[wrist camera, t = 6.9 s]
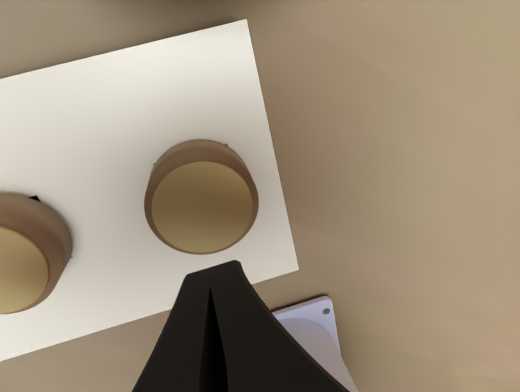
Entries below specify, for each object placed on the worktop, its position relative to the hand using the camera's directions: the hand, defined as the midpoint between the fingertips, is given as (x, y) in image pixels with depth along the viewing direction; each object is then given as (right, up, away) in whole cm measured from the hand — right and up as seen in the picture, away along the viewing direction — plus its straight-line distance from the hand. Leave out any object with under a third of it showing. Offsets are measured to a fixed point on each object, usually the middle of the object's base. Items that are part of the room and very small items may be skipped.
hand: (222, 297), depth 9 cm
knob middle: (-10, +2, +8) cm, 13 cm away
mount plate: (-10, +2, +8) cm, 13 cm away
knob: (-2, +4, +9) cm, 10 cm away
